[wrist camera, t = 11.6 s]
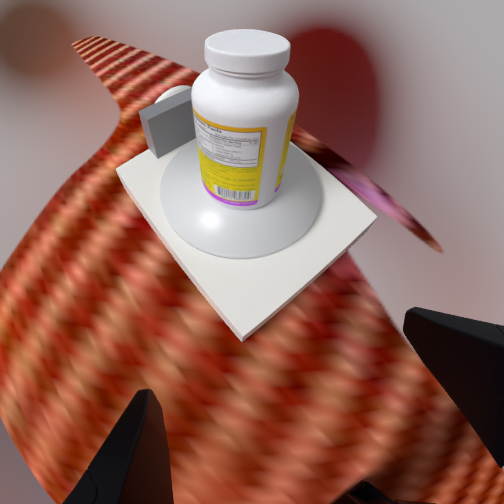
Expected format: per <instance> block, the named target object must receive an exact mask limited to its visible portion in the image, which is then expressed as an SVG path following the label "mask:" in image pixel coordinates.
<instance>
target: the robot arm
mask: <svg viewBox="0 0 504 504" xmlns="http://www.w3.org/2000/svg"><path fill="white" fill-rule="evenodd" d="M403 332H404V334H405V336H406V337H407V339H408V340H409V342H410V343H411V345H412V346H413V348H414V349H415V351H416V352H417V354H418V356H419V357H420V359H421V360H422V362H423V363H424V364H425V366H426V367H427V368H428V369H429V371H430V372H431V373H432V374H433V376H434V377H435V378H436V379H437V381H438V382H439V383H440V384H441V386H442V387H443V388H444V390H445V391H446V392H447V393H448V395H449V396H450V397H451V399H452V400H453V401H454V403H455V404H456V405H457V407H458V408H459V409H460V411H461V412H462V413H463V415H464V416H465V417H466V419H467V420H468V422H469V423H470V424H471V426H472V427H473V429H474V430H475V431H476V433H477V434H478V436H479V437H480V439H481V440H482V442H483V443H484V445H485V446H486V448H487V449H488V450H489V452H490V453H491V455H492V457H493V458H494V460H495V461H496V463H497V464H498V466H499V467H500V468H502V467H503V466H504V326H502V325H497V324H496V325H495V324H492V323H488V322H482V321H478V320H473V319H469V318H464V317H459V316H455V315H450V314H445V313H441V312H436V311H432V310H427V309H423V308H419V307H413V308H411V309H409V310H407V312H406V314H405V319H404V325H403ZM364 484H365V486H364V487H362V486H363V485H364ZM62 504H174V500H173V491H172V481H171V469H170V456H169V448H168V442H167V436H166V431H165V425H164V418H163V412H162V408H161V405H160V403H159V402H158V400H157V398H156V396H155V395H154V393H153V391H152V390H151V389H142V390H138V391H137V393H136V394H135V396H134V397H133V399H132V400H131V402H130V403H129V405H128V406H127V408H126V409H125V411H124V412H123V414H122V415H121V417H120V418H119V420H118V421H117V423H116V424H115V426H114V427H113V429H112V430H111V432H110V434H109V435H108V437H107V438H106V440H105V441H104V443H103V444H102V446H101V447H100V449H99V451H98V452H97V454H96V455H95V457H94V458H93V460H92V461H91V463H90V465H89V466H88V469H86V471H85V472H84V474H83V475H82V477H81V478H80V480H79V481H78V483H77V484H76V486H75V487H74V489H73V490H72V491H71V493H70V494H69V495H68V497H67V498H66V499H65V501H64V502H63V503H62ZM335 504H436V503H425V502H413V501H404V500H395V501H394V502H392V501H391V500H390V499H389V498H387V497H386V496H385V495H384V494H382V493H381V492H380V491H379V490H377V489H376V488H375V487H374V486H373V485H371V484H370V483H369V482H367V481H361V482H360V483H359V484H358V485H357V486H355V487H354V488H353V489H352V490H351V491H350V492H349V493H348V494H346V495H344V496H343V497H342V498H341V499H340V500H338V501H337V502H336V503H335Z"/></svg>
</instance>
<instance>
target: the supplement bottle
mask: <svg viewBox="0 0 504 504" xmlns="http://www.w3.org/2000/svg"><path fill="white" fill-rule="evenodd" d="M289 54H290V43H289V41H287V39H285V38H284V37H282V36H280V35H277V34H274V33H270V32H266V31H261V30H252V29H236V30H228V31H223V32H219V33H216V34H214V35H211V36H210V37H208V38H207V39H206V41H205V61H206V62H207V64H208V66H209V67H210V68H208V69H207V70H205V71H204V72H203V73H201V74H200V75H199V76H198V78H197V79H196V81H195V82H194V84H193V87H192V92H191V98H192V108H193V116H194V124H195V132H196V140H197V148H198V156H199V163H200V171H201V177H202V183H203V187H204V189H205V191H206V193H207V194H208V195H209V197H210V198H211V199H212V200H213V201H215V202H216V203H218V204H219V205H221V206H223V207H226V208H229V209H234V210H251V209H255V208H258V207H261V206H263V205H265V204H266V203H268V202H269V201H271V200H272V199H273V198H274V197H275V195H276V194H277V192H278V190H279V188H280V185H281V181H282V177H283V172H284V168H285V163H286V158H287V153H288V148H289V144H290V139H291V134H292V129H293V124H294V120H295V115H296V111H297V106H298V99H299V92H298V87H297V85H296V83H295V81H294V80H293V78H292V77H291V76H290V75H289V74H288V73H287V72H285V71H284V69H285V67H286V65H287V64H288V62H289Z"/></svg>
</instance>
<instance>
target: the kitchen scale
mask: <svg viewBox="0 0 504 504" xmlns="http://www.w3.org/2000/svg"><path fill="white" fill-rule="evenodd" d="M191 92H192V87H190V86H177V87H174V88H171V89H169V90H167V91H166V92H165V93H163V94H162V95H161V96H160V97H159V98H158V99H157V101H156V102H155V103H154V104H153V105H151V106H149V107H147V108H145V109H142V110H140V111H139V115H140V119H141V122H142V126H143V130H144V133H145V137H146V140H147V144H148V147H149V149H148V150H146V151H145V152H143V153H141V154H140V155H138V156H136V157H134V158H133V159H131V160H129V161H128V162H126V163H124V164H123V165H121V166H120V167H118V168H116V171H117V173H118V175H119V178H120V180H121V182H122V184H123V186H124V188H125V190H126V191H127V192H128V194H129V195H130V197H131V198H132V200H133V201H134V203H135V204H136V206H137V207H138V209H139V210H140V211H141V213H142V214H143V216H144V217H145V219H146V220H147V221H148V223H149V224H150V226H151V227H152V229H153V230H154V231H155V233H156V234H157V235H158V237H159V238H160V240H161V241H162V242H163V244H164V245H165V246H166V248H167V249H168V250H169V252H170V253H171V254H172V256H173V257H174V258H175V260H176V261H177V262H178V264H179V265H180V266H181V268H182V269H183V270H184V272H185V273H186V274H187V276H188V277H189V278H190V279H191V281H192V282H193V283H194V285H195V286H196V287H197V288H198V290H199V291H200V292H201V293H202V295H203V296H204V297H205V298H206V300H207V301H208V302H209V303H210V305H211V306H212V307H213V308H214V310H215V311H216V312H217V313H218V314H219V316H220V317H221V318H222V319H223V320H224V322H225V323H226V324H227V325H228V326H229V328H230V329H231V330H232V331H233V332H234V334H235V335H236V336H237V337H238V338H239V339H240V341H241V342H243V341H244V340H245V339H247V338H248V337H249V336H250V335H251V334H253V333H254V332H255V331H256V330H258V329H259V328H260V327H261V326H262V325H264V324H265V323H266V322H267V321H268V320H270V319H271V318H272V317H273V316H274V315H276V314H277V313H278V312H279V311H280V310H281V309H283V308H284V307H285V306H286V305H287V304H288V303H290V302H291V301H292V300H293V299H294V298H295V297H296V296H298V295H299V294H300V293H301V292H302V291H303V290H304V289H305V288H307V287H308V286H309V285H310V284H311V283H312V282H313V281H314V280H316V279H317V278H318V277H319V276H320V275H321V274H322V273H323V272H324V271H325V270H327V269H328V268H329V267H330V266H331V265H332V264H333V263H334V262H335V261H336V260H337V259H338V258H339V257H341V256H342V255H343V254H344V253H345V252H346V251H347V250H348V249H349V248H350V247H351V246H352V245H353V244H354V243H355V242H356V241H357V240H358V239H359V238H360V237H361V236H362V235H363V234H364V233H365V232H366V231H367V230H368V229H369V227H370V226H371V225H372V223H373V222H374V221H375V220H376V218H377V216H376V215H375V214H374V213H373V212H372V211H371V210H370V209H369V208H368V207H367V206H366V205H365V204H364V203H362V202H361V201H360V200H359V199H358V198H357V197H356V196H355V195H354V194H353V193H352V192H350V191H349V190H348V189H347V188H346V187H345V186H344V185H343V184H342V183H340V182H339V181H338V180H337V179H336V178H335V177H333V176H332V175H331V174H330V173H329V172H328V171H326V170H325V169H324V168H323V167H322V166H321V165H319V164H318V163H317V162H316V161H314V160H313V159H312V158H311V157H310V156H308V155H307V154H306V153H305V152H303V151H302V150H301V149H300V148H298V147H297V146H296V145H294V144H293V143H292V142H291V141H290V144H289V148H288V153H287V158H286V163H285V168H284V172H283V177H282V181H281V185H280V188H279V190H278V192H277V194H276V195H275V197H274V198H273V199H272V200H271V201H269V202H268V203H266V204H265V205H263V206H261V207H258V208H255V209H251V210H234V209H229V208H226V207H223V206H221V205H219V204H218V203H216V202H215V201H213V200H212V199H211V198H210V197H209V195H208V194H207V193H206V191H205V189H204V187H203V183H202V177H201V171H200V163H199V156H198V148H197V140H196V132H195V124H194V116H193V108H192V98H191Z"/></svg>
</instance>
